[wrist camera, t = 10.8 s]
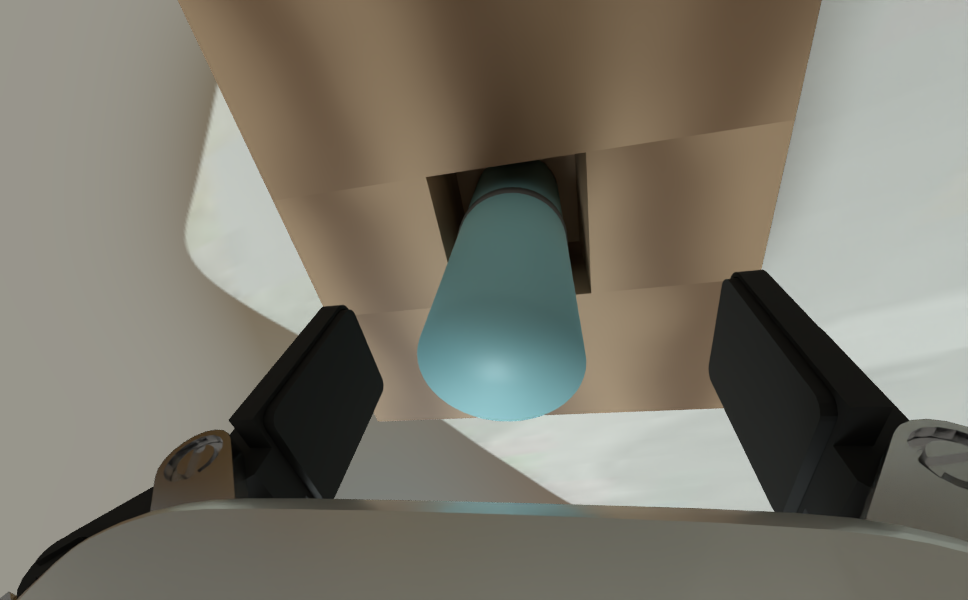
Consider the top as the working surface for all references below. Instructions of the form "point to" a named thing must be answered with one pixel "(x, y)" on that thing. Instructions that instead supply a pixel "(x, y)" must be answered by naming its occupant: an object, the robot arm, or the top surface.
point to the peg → (506, 303)
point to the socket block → (522, 159)
